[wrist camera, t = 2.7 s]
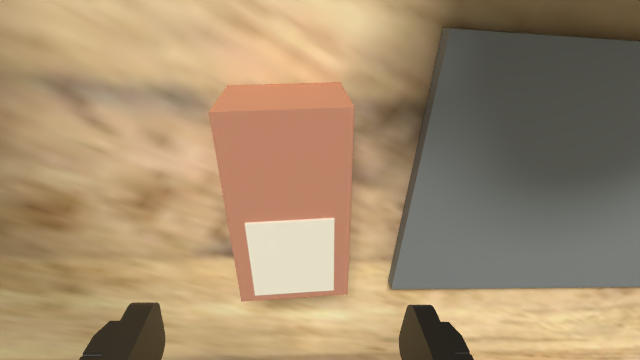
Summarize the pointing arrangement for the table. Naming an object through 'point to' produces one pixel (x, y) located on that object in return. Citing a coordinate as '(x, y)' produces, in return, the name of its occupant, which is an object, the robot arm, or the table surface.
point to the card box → (286, 186)
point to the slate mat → (525, 166)
